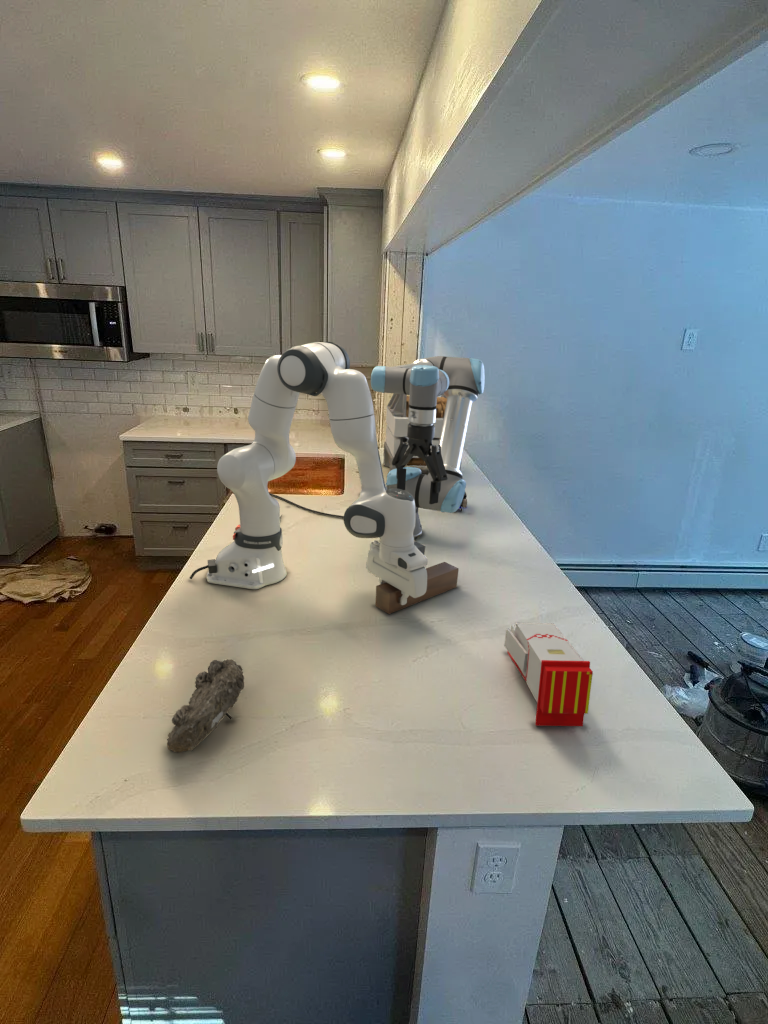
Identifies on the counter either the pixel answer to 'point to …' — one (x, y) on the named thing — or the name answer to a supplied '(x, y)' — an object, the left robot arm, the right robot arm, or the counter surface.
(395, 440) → the white wooden box
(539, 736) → the counter surface
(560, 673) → the toy
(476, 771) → the counter surface
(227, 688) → the fossil
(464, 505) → the figurine character
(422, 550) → the grey block
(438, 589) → the walnut rail
